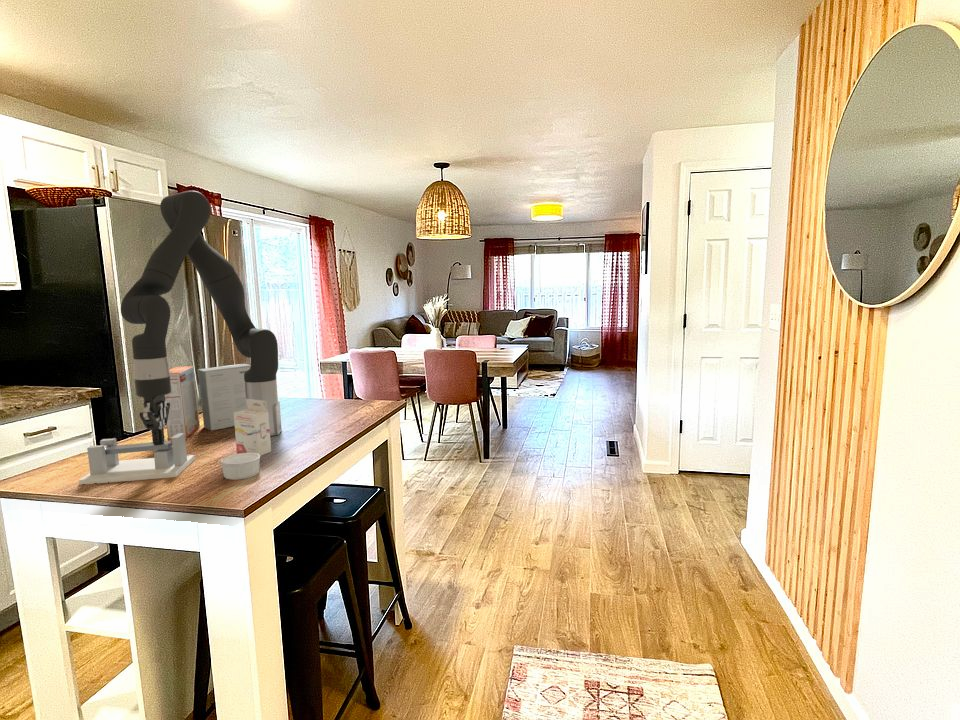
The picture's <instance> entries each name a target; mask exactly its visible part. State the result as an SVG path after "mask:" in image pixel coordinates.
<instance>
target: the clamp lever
mask: <svg viewBox="0 0 960 720" xmlns="http://www.w3.org/2000/svg"><path fill="white" fill-rule="evenodd" d="M104 446H105V454H106V455H109V454H118V455H119V454H120V455H121V454H128V453H138V452H140V453H141V452H149V451H150V452H151V451H157V450H163V449H169V448H171V447H172V446H173V444H172V442H171V441H170V440H165V441H164V443H162V444H156V445H154V444H153V441H152V442H151V441H150V442H141V443H130V444H119V445H118V444H117V445H116V446H110V445H107V444H106V445H104Z"/></svg>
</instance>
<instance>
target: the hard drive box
mask: <svg viewBox="0 0 960 720" xmlns="http://www.w3.org/2000/svg"><path fill="white" fill-rule="evenodd" d="M250 367H251V364H248V363H238V364H230V365H222V366H215V367H206V368H198V369H197V375H198V386H199V394H200V403H201V411H202V421H203V427H204V428H205V429H206V430H208V431H210V432H211V431H216V430H217V431H218V430H220V429H221V430H223V429H226V428H227V429H228V428H230V427H235V424H234V412H238V411H242V410H246V409H247V406H246V394H245V381H244V373H245V372H246V371H248V370H249V369H250Z"/></svg>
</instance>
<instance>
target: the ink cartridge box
mask: <svg viewBox="0 0 960 720" xmlns="http://www.w3.org/2000/svg"><path fill="white" fill-rule="evenodd" d="M253 403H254V404H255V403H257V404H260V406H254V405H253ZM246 404H247V409H246V410H242V411H238V412H234V424H235V426H234V434H235V446H236V447H235V448H236V454H239V453H257V454H259V455H260V457H261V456H264V455H266V454H269V453H271V452H272V444H271V436H270V428H269V415H268V409H267V402H266V401H261V400H253V399H246Z"/></svg>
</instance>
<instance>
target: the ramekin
mask: <svg viewBox="0 0 960 720" xmlns="http://www.w3.org/2000/svg"><path fill="white" fill-rule="evenodd" d="M260 460H261V456H260V455H259V454H257V453H234V454H231V455H228V456H225V457H222V459H220V464H221V467H222V472H223V473H222V474H223V477H224V478H225V479H227V480H233V481H235V480H236V481H237V480H245V479H249V478H252V477H254V476H256V475H258V474H259V472H260Z"/></svg>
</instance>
